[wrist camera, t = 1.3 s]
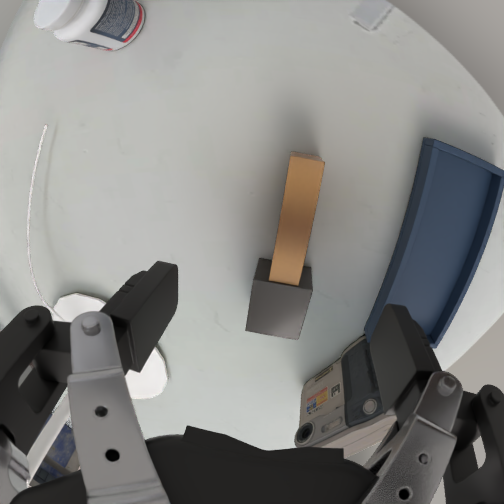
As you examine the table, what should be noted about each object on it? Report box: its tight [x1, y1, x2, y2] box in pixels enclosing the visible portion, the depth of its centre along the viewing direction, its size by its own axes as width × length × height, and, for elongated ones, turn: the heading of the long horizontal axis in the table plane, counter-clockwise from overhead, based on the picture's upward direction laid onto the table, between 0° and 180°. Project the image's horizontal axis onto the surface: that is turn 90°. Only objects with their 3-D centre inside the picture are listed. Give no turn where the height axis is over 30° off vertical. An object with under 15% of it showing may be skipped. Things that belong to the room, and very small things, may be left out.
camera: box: [294, 335, 397, 458], centre depth 24 cm, size 11×6×10 cm, turn 142°
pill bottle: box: [34, 0, 145, 51], centre depth 13 cm, size 5×5×9 cm
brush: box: [245, 151, 325, 340], centre depth 21 cm, size 14×4×4 cm, turn 173°
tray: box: [364, 138, 504, 348], centre depth 21 cm, size 18×8×2 cm, turn 173°
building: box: [29, 414, 80, 487], centre depth 46 cm, size 23×24×23 cm
